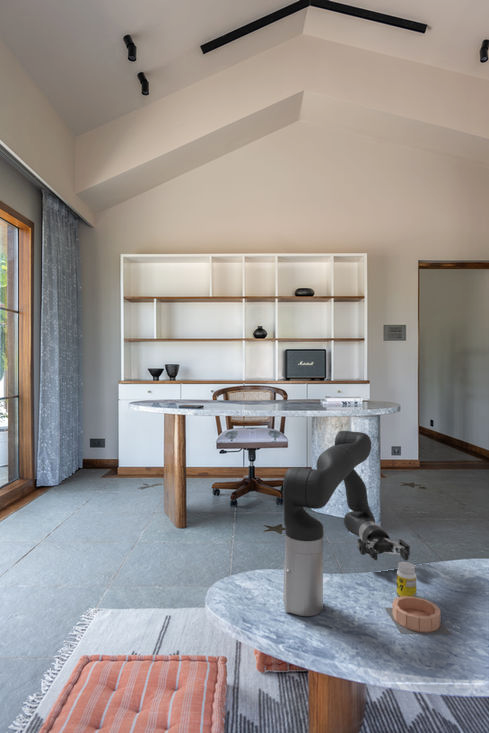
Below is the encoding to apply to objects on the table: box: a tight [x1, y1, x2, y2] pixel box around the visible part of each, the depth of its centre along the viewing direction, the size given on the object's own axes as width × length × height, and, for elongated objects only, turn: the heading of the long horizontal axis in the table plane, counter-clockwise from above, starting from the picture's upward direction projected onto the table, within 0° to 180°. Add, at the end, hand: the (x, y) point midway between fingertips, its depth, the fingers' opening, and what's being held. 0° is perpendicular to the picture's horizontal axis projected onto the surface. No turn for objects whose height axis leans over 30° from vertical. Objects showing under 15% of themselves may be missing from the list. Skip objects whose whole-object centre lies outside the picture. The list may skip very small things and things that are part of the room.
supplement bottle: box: [396, 561, 417, 598], centre depth 111 cm, size 5×5×8 cm
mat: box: [384, 607, 452, 635], centre depth 99 cm, size 11×11×1 cm
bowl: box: [391, 596, 442, 633], centre depth 100 cm, size 10×10×3 cm
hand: (391, 556), depth 122 cm, fingers open, 8 cm apart
